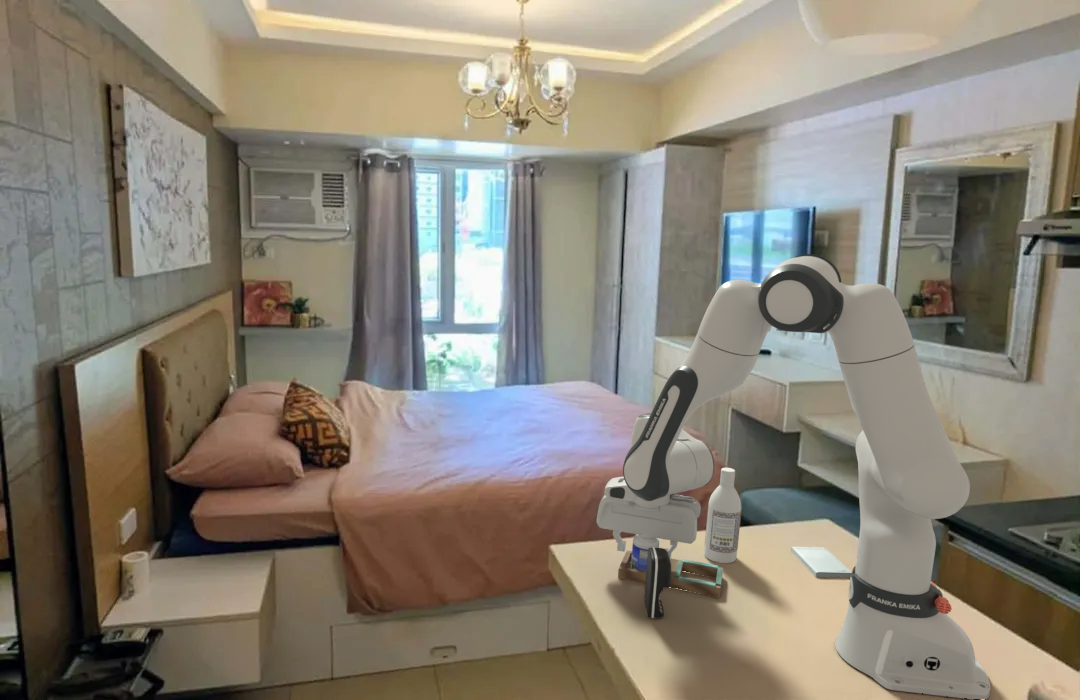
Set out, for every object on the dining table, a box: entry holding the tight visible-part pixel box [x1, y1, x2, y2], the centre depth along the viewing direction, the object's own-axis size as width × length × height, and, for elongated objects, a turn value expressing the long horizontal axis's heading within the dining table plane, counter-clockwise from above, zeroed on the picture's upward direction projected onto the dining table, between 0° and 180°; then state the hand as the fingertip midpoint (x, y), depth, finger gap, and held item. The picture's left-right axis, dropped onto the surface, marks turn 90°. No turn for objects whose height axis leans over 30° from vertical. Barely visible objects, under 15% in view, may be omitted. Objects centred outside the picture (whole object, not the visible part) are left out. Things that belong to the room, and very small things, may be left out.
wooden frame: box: [617, 549, 724, 599], centre depth 139 cm, size 20×9×2 cm, turn 72°
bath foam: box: [703, 467, 742, 564], centre depth 148 cm, size 7×7×20 cm
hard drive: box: [790, 546, 852, 579], centre depth 149 cm, size 2×8×12 cm
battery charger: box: [643, 547, 671, 619], centre depth 125 cm, size 7×4×11 cm, turn 177°
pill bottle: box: [630, 533, 660, 571], centre depth 140 cm, size 5×5×10 cm
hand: (643, 554), depth 140 cm, fingers open, 8 cm apart
